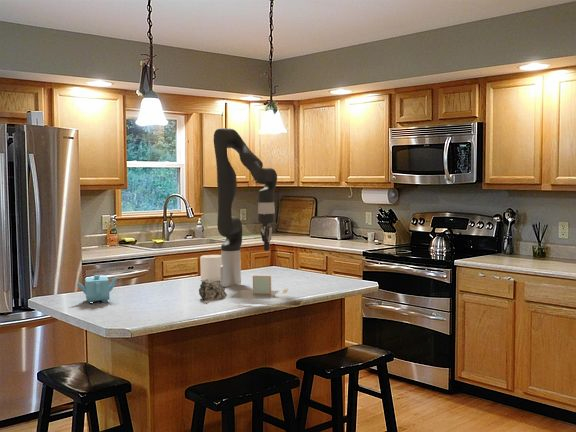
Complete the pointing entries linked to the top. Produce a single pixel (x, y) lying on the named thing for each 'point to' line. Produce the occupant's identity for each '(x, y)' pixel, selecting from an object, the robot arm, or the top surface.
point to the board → (250, 294)
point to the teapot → (97, 288)
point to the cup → (210, 267)
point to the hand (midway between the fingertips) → (266, 250)
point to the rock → (211, 290)
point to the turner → (284, 290)
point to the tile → (261, 284)
